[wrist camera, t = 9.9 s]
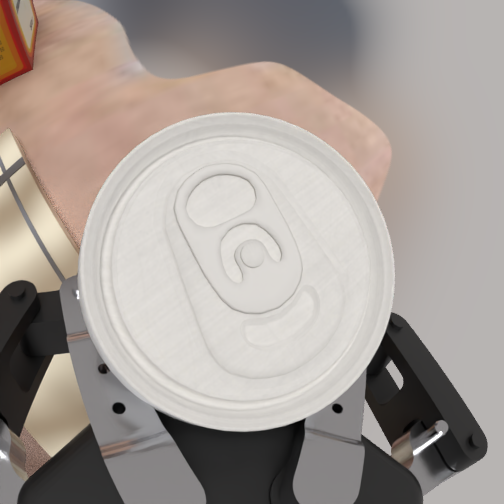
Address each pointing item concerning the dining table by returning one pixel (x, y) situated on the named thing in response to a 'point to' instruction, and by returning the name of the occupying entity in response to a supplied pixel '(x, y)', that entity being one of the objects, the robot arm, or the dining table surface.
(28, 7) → the baking soda box
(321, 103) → the dining table surface
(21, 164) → the cream flat rectangular panel
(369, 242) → the beer can
